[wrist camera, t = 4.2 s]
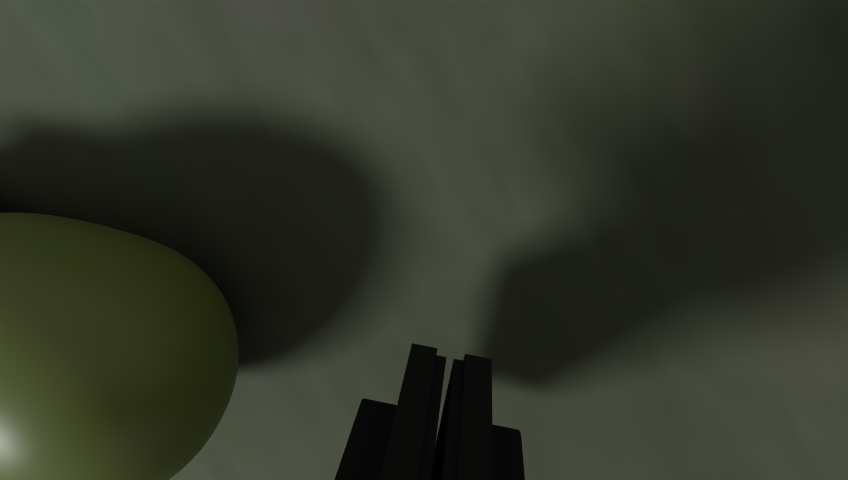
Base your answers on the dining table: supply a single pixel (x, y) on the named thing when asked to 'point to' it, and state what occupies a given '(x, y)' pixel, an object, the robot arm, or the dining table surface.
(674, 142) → the dining table surface
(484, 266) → the dining table surface
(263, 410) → the dining table surface
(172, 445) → the pear
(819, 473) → the dining table surface
